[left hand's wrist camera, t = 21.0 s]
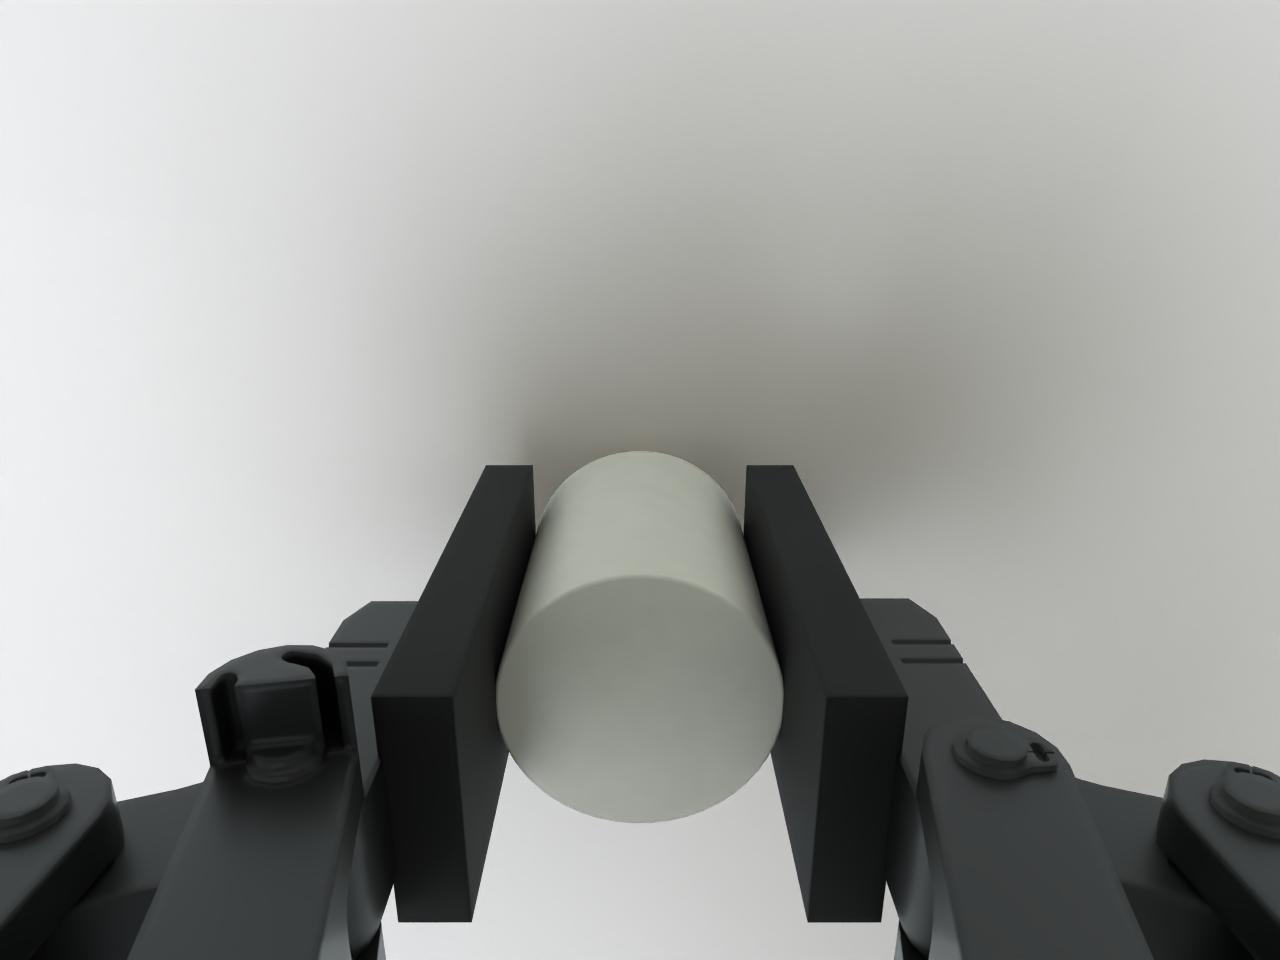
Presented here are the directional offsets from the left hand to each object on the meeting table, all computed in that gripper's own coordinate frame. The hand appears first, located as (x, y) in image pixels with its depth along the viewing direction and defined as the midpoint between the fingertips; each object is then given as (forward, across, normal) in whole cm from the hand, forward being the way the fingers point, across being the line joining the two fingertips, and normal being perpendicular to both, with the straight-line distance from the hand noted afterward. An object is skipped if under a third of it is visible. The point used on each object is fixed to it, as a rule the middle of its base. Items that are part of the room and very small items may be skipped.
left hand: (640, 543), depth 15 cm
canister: (0, 0, 0) cm, 0 cm away
